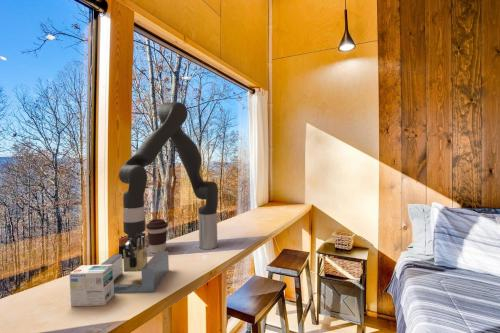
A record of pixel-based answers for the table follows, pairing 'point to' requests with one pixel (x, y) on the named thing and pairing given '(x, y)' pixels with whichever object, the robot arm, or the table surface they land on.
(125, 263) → the block
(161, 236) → the coffee cup
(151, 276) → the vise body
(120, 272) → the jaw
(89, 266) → the light bulb box
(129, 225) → the robot arm
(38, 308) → the table surface
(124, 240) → the battery
